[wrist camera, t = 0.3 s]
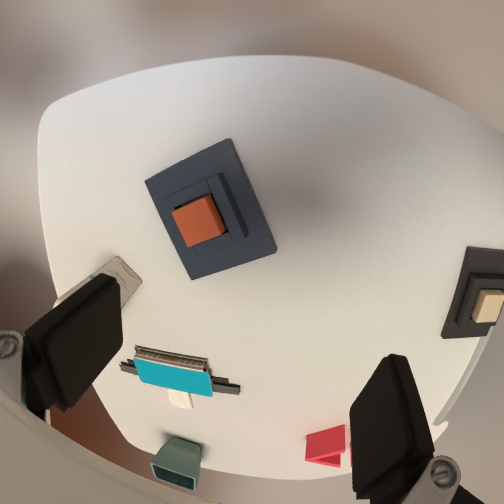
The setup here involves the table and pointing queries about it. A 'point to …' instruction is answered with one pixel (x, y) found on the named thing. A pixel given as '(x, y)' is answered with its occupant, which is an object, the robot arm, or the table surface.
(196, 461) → the flower pot
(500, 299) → the tan square block
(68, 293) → the ink box
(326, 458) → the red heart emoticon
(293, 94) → the table surface
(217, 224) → the orange block
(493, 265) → the stepped dark pedestal
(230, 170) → the stepped blue base
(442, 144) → the table surface
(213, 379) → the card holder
